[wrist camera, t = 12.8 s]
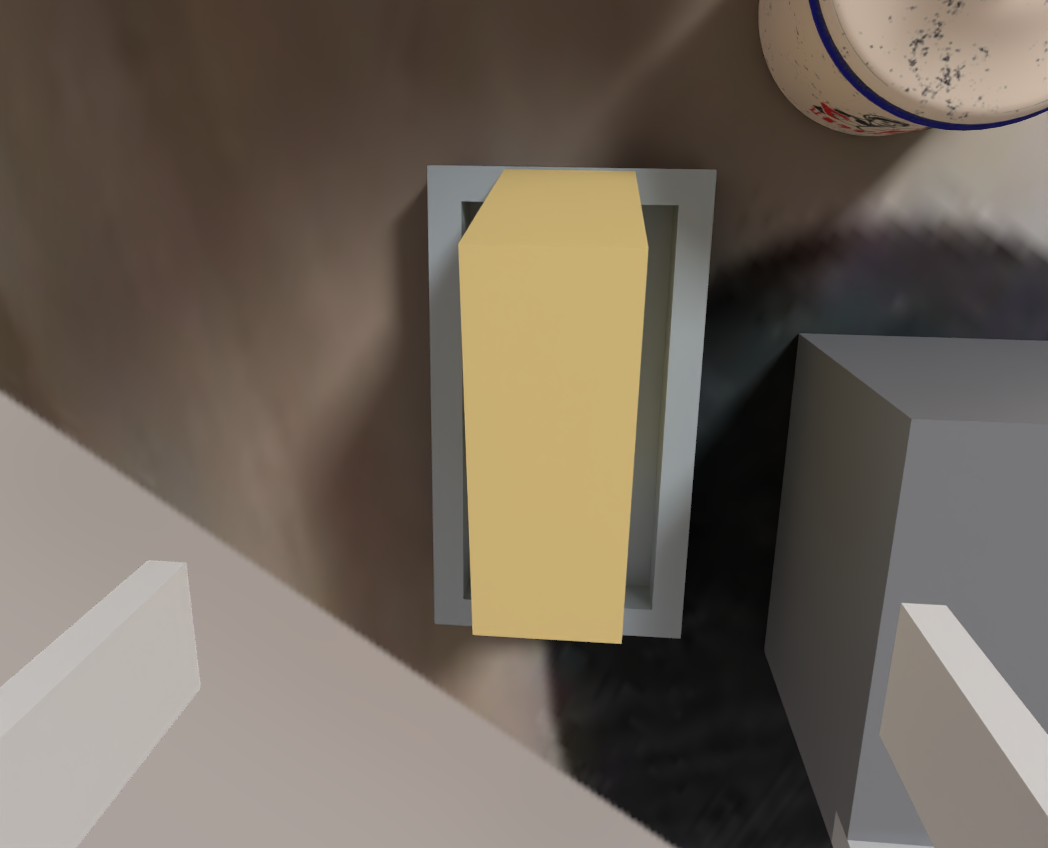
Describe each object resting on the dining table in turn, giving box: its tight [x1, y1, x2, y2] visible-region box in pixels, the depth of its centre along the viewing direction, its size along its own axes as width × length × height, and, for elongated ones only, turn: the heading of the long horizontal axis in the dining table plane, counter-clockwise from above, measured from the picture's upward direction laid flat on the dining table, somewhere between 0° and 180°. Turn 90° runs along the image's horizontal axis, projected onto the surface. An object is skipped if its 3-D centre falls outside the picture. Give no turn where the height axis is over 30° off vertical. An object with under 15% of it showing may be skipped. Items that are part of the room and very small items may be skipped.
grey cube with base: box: [764, 333, 1048, 848], centre depth 28 cm, size 14×14×13 cm
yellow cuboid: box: [458, 169, 648, 644], centre depth 27 cm, size 12×4×10 cm, turn 179°
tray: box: [427, 165, 717, 638], centre depth 33 cm, size 18×10×3 cm, turn 179°
